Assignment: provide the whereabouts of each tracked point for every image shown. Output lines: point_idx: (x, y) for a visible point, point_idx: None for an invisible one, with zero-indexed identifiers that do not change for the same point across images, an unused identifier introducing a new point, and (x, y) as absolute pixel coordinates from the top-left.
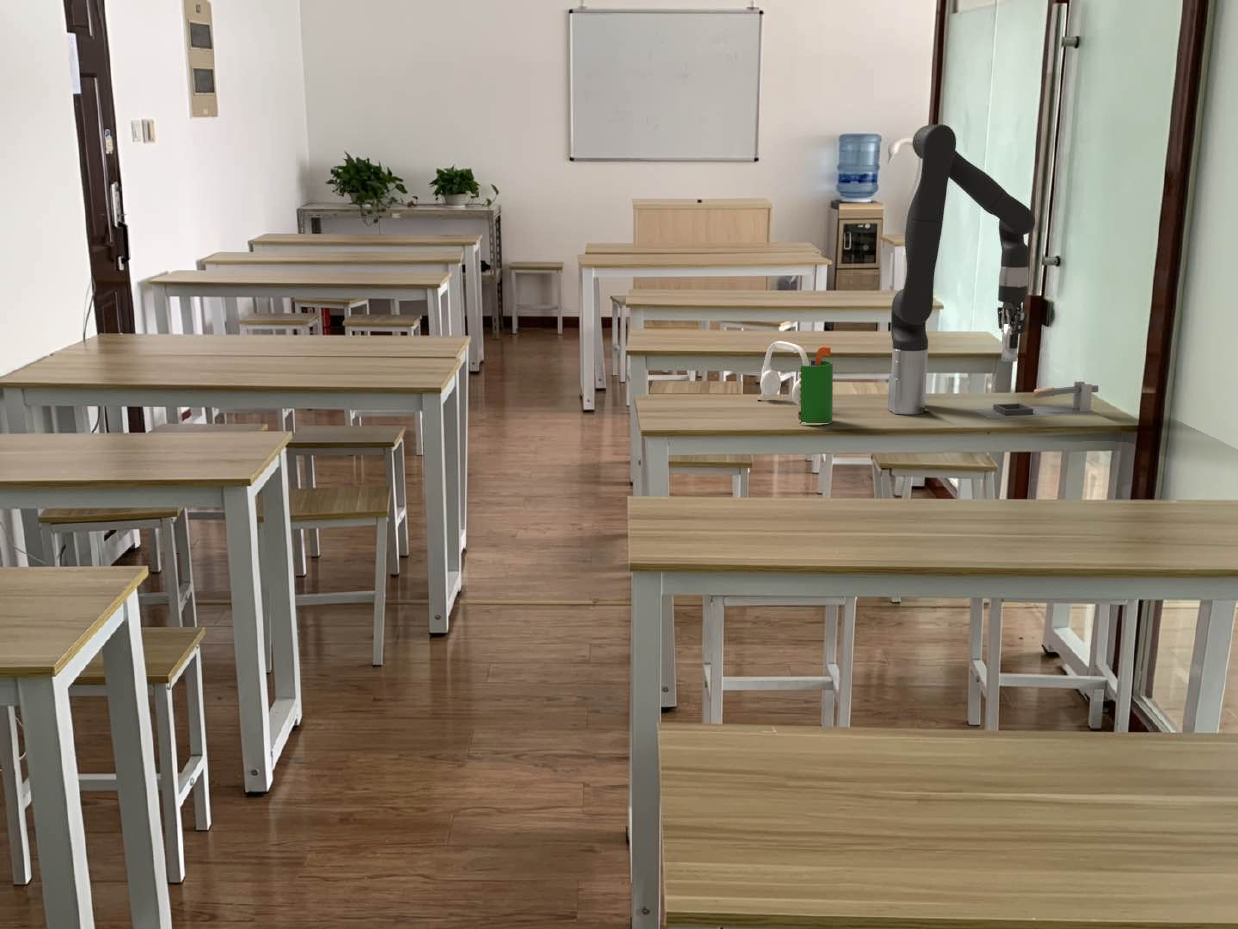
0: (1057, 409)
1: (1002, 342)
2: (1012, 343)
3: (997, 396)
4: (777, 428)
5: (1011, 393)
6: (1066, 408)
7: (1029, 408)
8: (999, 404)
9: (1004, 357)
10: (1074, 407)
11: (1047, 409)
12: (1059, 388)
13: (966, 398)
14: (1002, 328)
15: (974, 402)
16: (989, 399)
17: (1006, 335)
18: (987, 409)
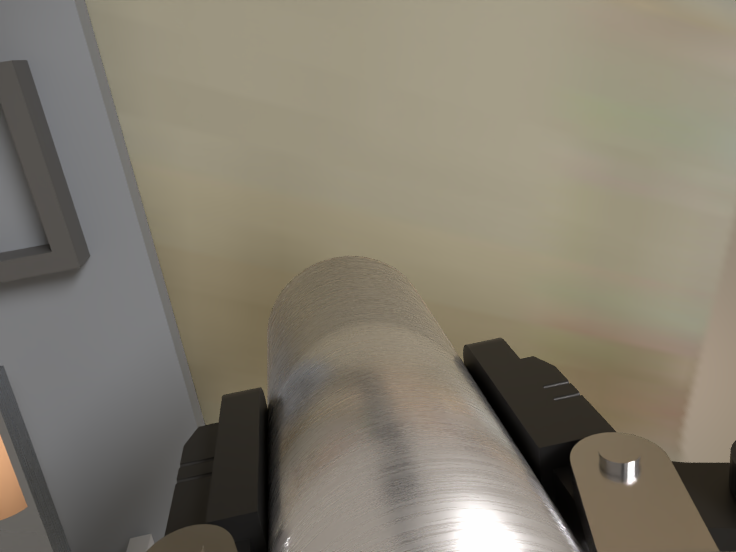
0: (87, 455)
1: (500, 355)
2: (197, 457)
3: (635, 235)
4: None
5: (696, 326)
6: (123, 502)
7: None
8: (12, 107)
9: (303, 288)
10: (128, 542)
11: (81, 404)
12: (30, 549)
13: (613, 27)
14: (628, 481)
15: (482, 47)
16: (560, 168)
17: (311, 452)
18: (39, 21)
